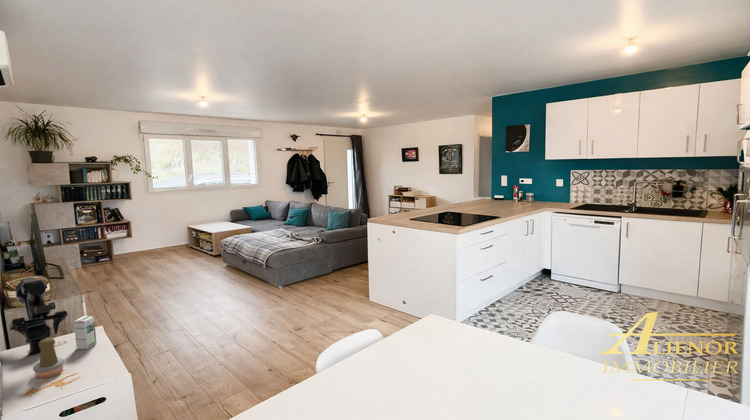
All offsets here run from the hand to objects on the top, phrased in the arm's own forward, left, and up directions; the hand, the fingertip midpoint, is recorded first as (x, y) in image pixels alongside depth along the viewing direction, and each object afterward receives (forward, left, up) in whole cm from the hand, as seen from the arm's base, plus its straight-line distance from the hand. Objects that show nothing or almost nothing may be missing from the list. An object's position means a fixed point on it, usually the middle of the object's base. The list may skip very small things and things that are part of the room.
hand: (42, 337), depth 162 cm
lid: (+9, +2, -10) cm, 13 cm away
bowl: (+9, +2, -13) cm, 16 cm away
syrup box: (-11, +15, -14) cm, 23 cm away
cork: (+8, +2, -9) cm, 13 cm away
